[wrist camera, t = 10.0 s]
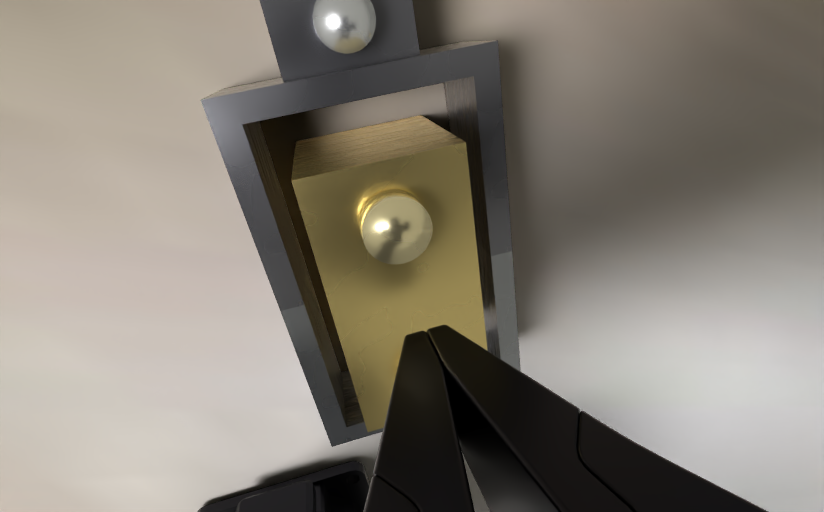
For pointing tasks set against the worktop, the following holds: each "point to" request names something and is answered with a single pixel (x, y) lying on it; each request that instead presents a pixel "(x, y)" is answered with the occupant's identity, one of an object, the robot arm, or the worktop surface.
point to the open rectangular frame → (345, 82)
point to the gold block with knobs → (390, 243)
